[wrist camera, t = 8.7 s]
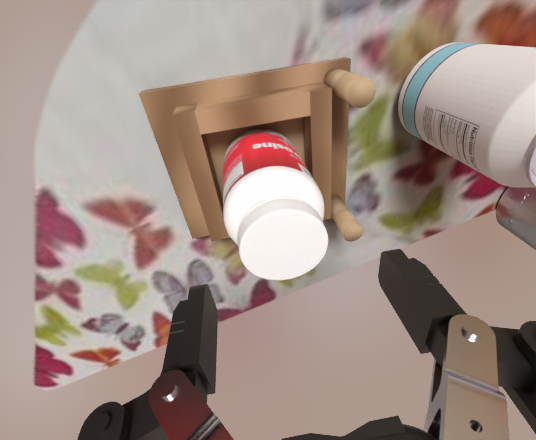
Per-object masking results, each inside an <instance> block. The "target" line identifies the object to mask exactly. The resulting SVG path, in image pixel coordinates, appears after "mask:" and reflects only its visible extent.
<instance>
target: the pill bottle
mask: <svg viewBox="0 0 536 440" xmlns="http://www.w3.org/2000/svg"><path fill="white" fill-rule="evenodd" d="M324 210H325V208H324V200H323V197H322V194H321V192H320V190H319V187H318V186H317V184H316V182H315V181H314V179H313V177H312V176H311V174H310V172H309V171H308V169H307V167H306V166H305V164H304V162H303V161H302V159H301V157H300V156H299V154H298V152H297V151H296V149H295V147H294V146H293V144H292V143H291V142H290V141H289V140H288V139H287V138H286V137H285V136H283V135H282V134H280V133H278V132H276V131H273V130H270V129H254V130H250V131H247V132H245V133H243V134H241V135H240V136H238V137H237V138H236V139H235V140H234V141H233V142H232V143H231V144H230V146H229V147H228V149H227V151H226V154H225V157H224V162H223V217H224V224H225V227H226V230H227V232H228V234H229V236H230V237H231V239H232V240H233V241H234V242H235V243H236V244H237V245H238V247H239V254H240V258H241V260H242V262H243V264H244V266H245V267H246V268H247V269H248V270H249V271H250V272H251V273H253V274H254V275H256V276H258V277H261V278H264V279H269V280H286V279H292V278H295V277H298V276H301V275H303V274H305V273H307V272H308V271H310V270H311V269H313V268H314V267H315V266H316V265H317V264H318V263H319V262H320V261H321V260H322V258H323V257H324V255H325V253H326V250H327V246H328V234H327V231H326V228H325V226H324V224H323V218H324Z"/></svg>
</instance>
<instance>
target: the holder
mask: <svg viewBox="0 0 536 440" xmlns="http://www.w3.org/2000/svg"><path fill="white" fill-rule="evenodd" d="M350 65H351V59H350V58H346V57H345V58H339V59H333V60H327V61H321V62H315V63H309V64H303V65H297V66H291V67H285V68H279V69H273V70H267V71H261V72H254V73H248V74H242V75H236V76H230V77H224V78H218V79H212V80H206V81H200V82H194V83H188V84H182V85H176V86H169V87H163V88H157V89H151V90H145V91H142V92H140V93H139V95H140V98H141V101H142V103H143V106H144V109H145V111H146V114H147V117H148V119H149V122H150V125H151V128H152V130H153V133H154V136H155V138H156V141H157V144H158V146H159V149H160V152H161V155H162V157H163V160H164V163H165V165H166V168H167V171H168V174H169V176H170V179H171V182H172V184H173V187H174V190H175V192H176V195H177V198H178V201H179V203H180V206H181V209H182V211H183V214H184V217H185V219H186V222H187V225H188V228H189V230H190V233H191V236H192V238H199V237H204V236H209V235H210V237H211V241H215V240H220V239H226V238H231V237H230V236H229V234H228V232H227V230H226V227H225V224H224V217H223V162H224V157H225V154H226V151H227V149H228V147H229V146H230V144H231V143H232V142H233V141H234V140H235V139H236V138H237V137H238V136H240V135H241V134H243V133H245V132H247V131H250V130H254V129H270V130H273V131H276V132H278V133H280V134H282V135H283V136H285V137H286V138H287V139H288V140H289V141H290V142H291V143H292V144H293V146H294V147H295V149H296V151H297V152H298V154H299V156H300V157H301V159H302V161H303V162H304V164H305V166H306V167H307V169H308V171H309V172H310V174H311V176H312V177H313V179H314V181H315V182H316V184H317V186H318V187H319V190H320V192H321V194H322V197H323V200H324V208H325V210H324V218H323V220H326V219H331V217H332V218H333V220H334V222H335V223H336V225H337V227H338V229H339V230H340V232H341V234H342V235H343V237H344V239H345V240H347V241H355V240H357V239H359V238H360V237H361V235H362V233H363V229H362V228H361V226H360V225H359V223H358V222H357V221H356V219H355V218H354V216H353V215H352V213H351V212H350V211H349V209H348V208H347V206H346V205H345V188H346V164H347V139H348V114H349V103H350V104H351V105H353V106H355V107H357V108H362V107H365V106H367V105H368V104H369V103H370V102H371V101H372V100H373V98H374V96H375V92H376V87H375V84H374V82H373V81H372V80H370V79H368V78H365V77H362V76H359V75H357V74H354V73H351V72H350Z"/></svg>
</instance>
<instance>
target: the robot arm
mask: <svg viewBox="0 0 536 440" xmlns="http://www.w3.org/2000/svg"><path fill="white" fill-rule="evenodd" d="M496 218H497V221H498V222H499V224H500V225H502V226H503V227H504V228H506V229H507V230H509V231H510V232H511V233H513V234H514V235H516V236H517V237H519V238H520V239H521V240H523V241H524V242H526V243H527V244H528V245H530V246H531V247H532V248H534V249H535V250H536V187H508V188H507V190H506V191H505V192H504V194H503V195H502V197H501V199H500V201H499V203H498V206H497V209H496ZM378 278H379V283H380V286H381V288H382V290H383V291H384V293H385V295H386V296H387V298H388V300H389V301H390V303H391V305H392V306H393V308H394V309H395V311H396V313H397V315H398V316H399V318H400V320H401V321H402V323H403V325H404V326H405V328H406V329H407V331H408V333H409V335H410V336H411V338H412V340H413V341H414V343H415V345H416V346H417V348H418V350H419V351H420V353H421V354H423V353H428V352H431V353H432V355H433V356H434V358H435V359H434V364H433V373H432V382H431V390H430V398H429V406H428V411H427V415H426V419H425V424H424V431H423V430H421V429H418V428H416V427H413V426H409V425H404V424H402V423H401V421H400V419H399V416H394V417H389V418H384V419H379V420H374V421H369V422H368V423H366V424H364V425H363V426H361V427H359V428H357V429H356V430H354V431H352V432H351V433H349V434H347V435H345V436H342V437H338V436H330V435H321V434H313V433H309V434H304V435H299V436H294V437H289V438H285V439H282V440H509V427H508V413H507V402H506V398H505V395H504V394H503V393H501V392H499V388H498V386H501V387H503V388H504V390H505V391H506V392H507V394H508V395H509V397H510V398H511V400H512V401H513V402H514V404H515V405H516V407H517V408H518V409H519V411H520V412H521V414H522V415H523V416H524V418H525V419H526V421H527V422H528V424H529V425H530V426H531V428H532V429H533V431H534V432H535V434H536V321H529V322H526V323H524V324H523V325H522V326H521V328H520V329H519V330H517V329H508V328H499V327H491V326H488V325H487V324H486V323H485V322H484V321H482V320H480V319H479V318H477V317H474V316H470V315H467V314H466V313H465V312H464V311H463V309H462V308H461V307H460V306H459V305H458V303H457V302H456V301H455V300H454V299H453V297H452V296H451V295H450V294H449V293H448V292H447V290H446V289H445V288H444V287H443V286H442V284H440V283H439V281H438V280H437V278H435V276H433V274H432V273H431V271H430V270H429V269H428V268H427V267H426V265H424V264H423V263H421V262H420V261H418V260H416V259H415V258H411V259H408V258H407V256H406V255H405V254H404V252H403V251H402V250H400V249H395V250H390V251H385V252H382V253H381V258H380V266H379V274H378ZM217 322H218V316H217V308H216V305H215V302H214V299H213V297H212V294H211V292H210V289H209V286H208V285H207V284H205V285H199V286H194V287H190V289H189V295H188V300H184V301H180V302H179V304H178V305H177V307H176V309H175V310H174V312H173V317H172V322H171V324H172V325H171V327H170V335H169V338H168V343H167V348H166V354H165V359H164V364H163V369H162V372H161V375H160V376H159V377H158V378H157V379H156V381H155V382H154V383H153V385H152V387H151V389H150V390H148V391H147V392H146V393H144V394H142V395H141V396H139V397H137V398H135V399H133V400H131V401H130V402H128V403H126V404H124V405H122V406H121V405H120V404H119V403H117V402H108V403H105V404H103V405H101V406H99V407H98V408H96V409H95V410H94V411H93V412H92V413H91V414H90V415H89V416H88V418H87V419H86V420H85V422H84V424H83V426H82V428H81V431H80V433H79V437H78V440H234V439H233V438H232V436H231V435H230V433H229V432H228V431H227V429H226V428H225V427H224V425H223V424H222V423H221V421H220V420H219V419H218V417H216V416H215V414H214V413H213V412H212V410H211V409H210V407H209V406H208V405H207V395H208V394H213V393H215V382H216V351H217Z"/></svg>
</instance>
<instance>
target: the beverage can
mask: <svg viewBox="0 0 536 440" xmlns="http://www.w3.org/2000/svg"><path fill="white" fill-rule="evenodd" d="M398 113H399V118H400V121H401V123H402V125H403V127H404V128H405V129H406V130H407V131H408V132H409V133H411V134H412V135H414V136H416V137H418V138H420V139H421V140H423V141H425V142H427V143H428V144H430V145H432V146H434V147H436V148H437V149H439V150H441V151H443V152H444V153H446V154H448V155H450V156H452V157H453V158H455V159H457V160H459V161H460V162H462V163H464V164H466V165H468V166H469V167H471V168H473V169H475V170H476V171H478V172H480V173H482V174H484V175H485V176H487V177H489V178H491V179H492V180H494V181H496V182H498V183H500V184H502V185H505V186H509V187H536V48H534V47H520V46H505V45H490V44H476V43H461V42H455V43H449V44H445V45H443V46H440V47H438V48H436V49H434V50H433V51H431V52H430V53H428V54H427V55H426V56H424V57H423V58H422V59H421V60H420V61H419V62H418V63H417V64H416V65H415V67H414V68H413V69H412V71H411V72H410V73H409V75H408V77H407V78H406V80H405V82H404V84H403V87H402V89H401V93H400V96H399V102H398Z"/></svg>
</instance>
